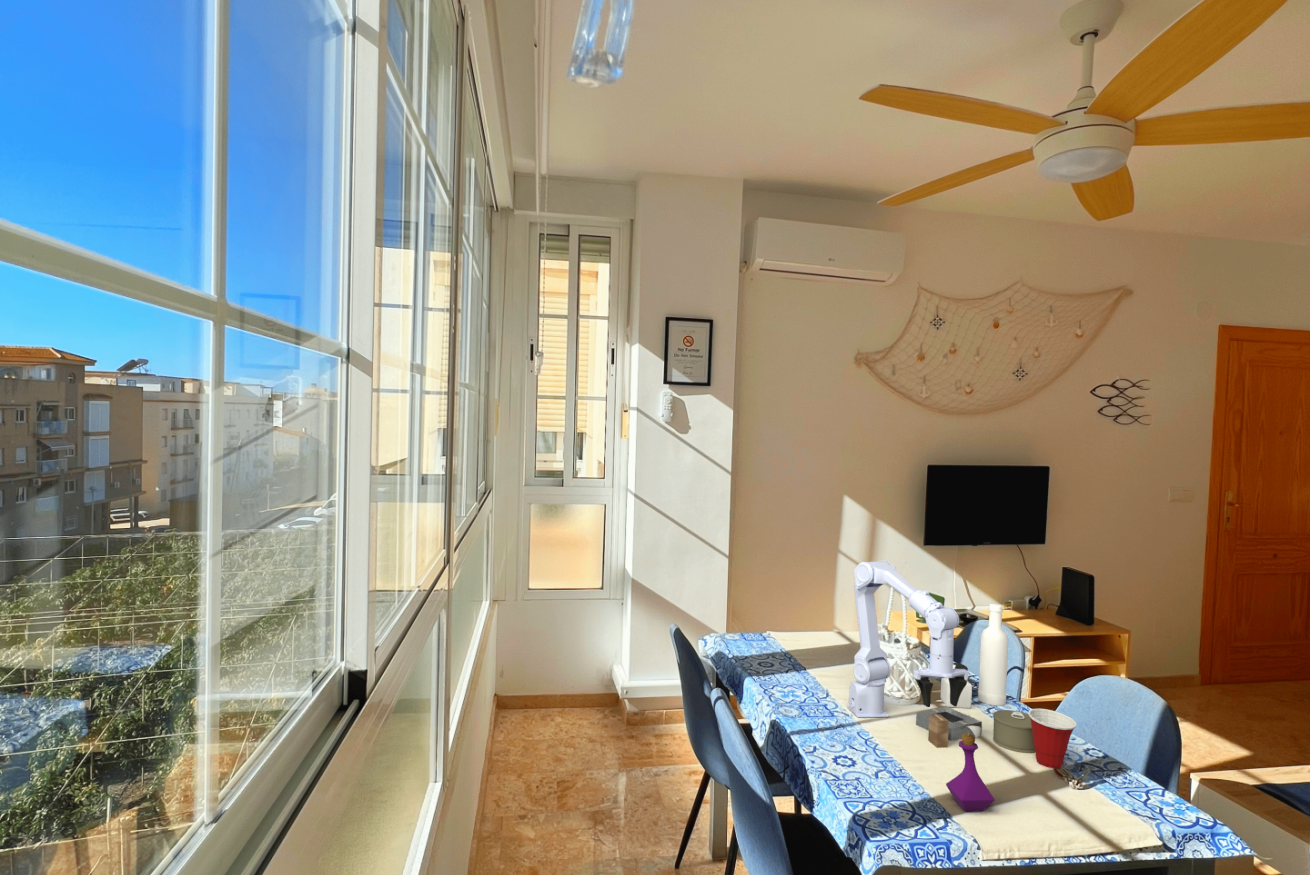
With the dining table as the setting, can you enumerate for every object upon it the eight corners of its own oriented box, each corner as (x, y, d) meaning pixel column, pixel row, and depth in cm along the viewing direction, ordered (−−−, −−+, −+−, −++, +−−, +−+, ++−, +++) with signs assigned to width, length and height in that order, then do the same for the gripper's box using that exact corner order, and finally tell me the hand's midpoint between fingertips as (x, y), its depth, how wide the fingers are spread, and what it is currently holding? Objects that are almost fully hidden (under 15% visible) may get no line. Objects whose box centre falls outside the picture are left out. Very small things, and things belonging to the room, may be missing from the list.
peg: (936, 747, 195) (937, 720, 195) (928, 740, 199) (929, 713, 199) (947, 747, 195) (948, 720, 195) (938, 740, 200) (939, 713, 200)
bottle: (1010, 706, 227) (1014, 608, 227) (984, 705, 227) (988, 607, 227) (998, 697, 235) (1003, 602, 235) (973, 696, 235) (977, 601, 235)
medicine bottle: (963, 700, 231) (965, 661, 231) (971, 708, 224) (973, 669, 224) (940, 698, 232) (941, 660, 232) (946, 707, 225) (948, 667, 224)
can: (991, 747, 196) (992, 721, 196) (992, 731, 207) (993, 706, 207) (1042, 757, 191) (1044, 731, 191) (1041, 740, 202) (1042, 715, 202)
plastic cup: (1056, 777, 180) (1058, 727, 180) (1016, 758, 190) (1018, 711, 190) (1084, 769, 185) (1086, 721, 185) (1044, 751, 195) (1046, 706, 195)
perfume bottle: (944, 798, 168) (948, 718, 167) (976, 797, 168) (980, 718, 168) (961, 815, 160) (964, 731, 160) (994, 815, 161) (998, 732, 161)
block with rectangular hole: (950, 741, 199) (951, 727, 199) (915, 724, 210) (916, 711, 210) (981, 734, 205) (981, 720, 205) (945, 718, 215) (946, 705, 215)
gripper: (923, 658, 192) (922, 711, 192) (975, 657, 195) (974, 710, 194) (910, 651, 199) (908, 702, 199) (960, 650, 201) (959, 700, 201)
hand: (940, 705), depth 197 cm, fingers open, 7 cm apart
